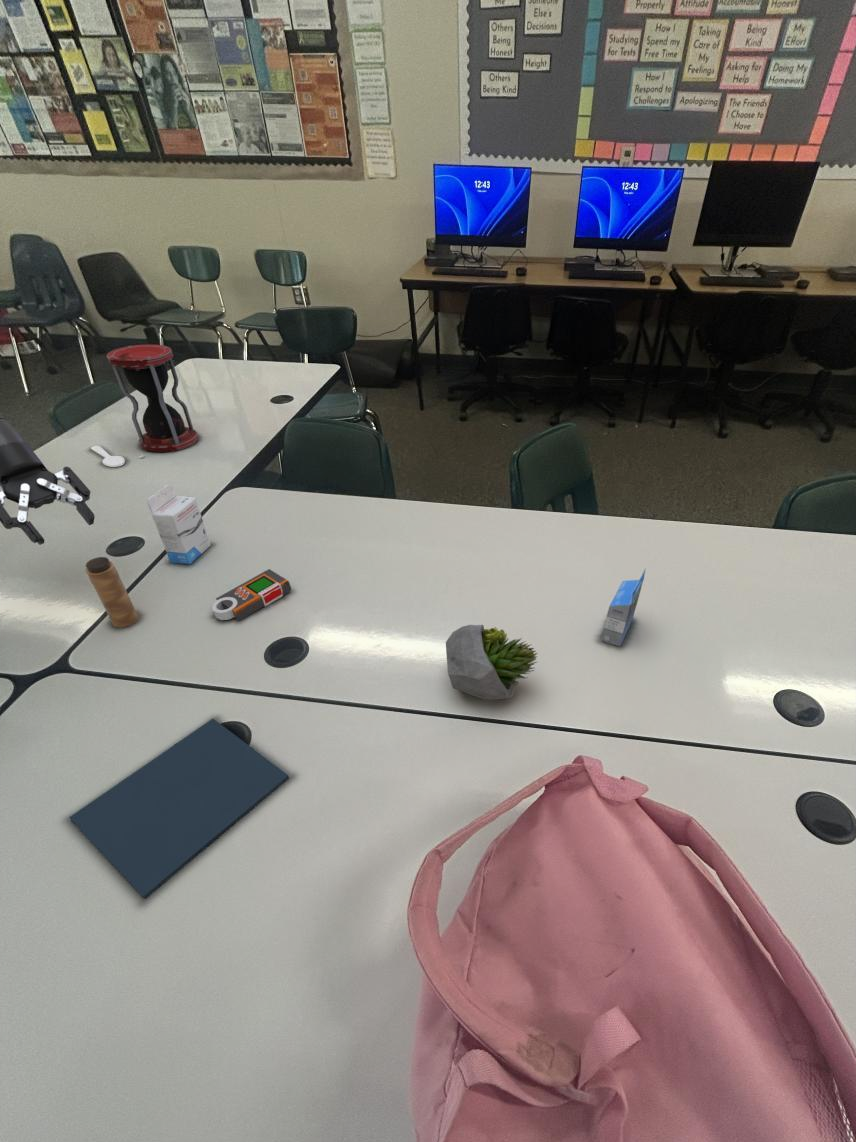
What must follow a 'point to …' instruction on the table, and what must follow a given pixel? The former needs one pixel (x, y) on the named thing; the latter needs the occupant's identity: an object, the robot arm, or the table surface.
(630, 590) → the label tape box
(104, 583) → the pepper mill
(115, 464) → the spoon
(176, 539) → the ink box
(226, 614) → the electronic device
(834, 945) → the table surface
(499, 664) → the potted plant
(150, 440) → the hourglass
